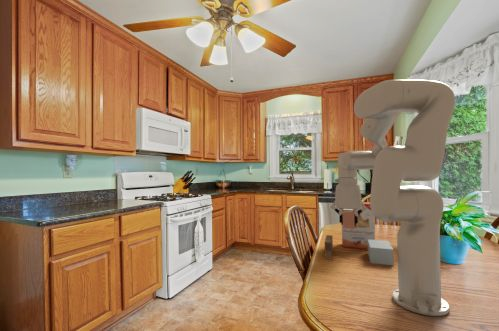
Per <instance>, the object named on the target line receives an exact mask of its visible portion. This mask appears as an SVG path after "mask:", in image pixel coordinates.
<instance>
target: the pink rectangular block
mask: <svg viewBox="0 0 499 331" xmlns="http://www.w3.org/2000/svg"><path fill="white" fill-rule="evenodd" d="M343 228H351V229H355V224H354V209H343Z"/></svg>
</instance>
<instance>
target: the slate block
mask: <svg viewBox="0 0 499 331" xmlns="http://www.w3.org/2000/svg"><path fill="white" fill-rule="evenodd" d="M394 250H395V249H394V248H393V247H392V245H391V243H390V241H389V240H381V239H378V240H377V239H375V240H369V239H368V249H367V255H368V258H369V262H370V264H375V265H377V264H378V265H385V266H395V258H394V257H395V254H394V252H395V251H394Z"/></svg>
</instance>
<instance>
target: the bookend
mask: <svg viewBox="0 0 499 331" xmlns="http://www.w3.org/2000/svg"><path fill="white" fill-rule="evenodd" d="M333 244H334V243H333V235H329V234H327V235H325V239H324V258H325V259H332V256H333V249H334V247H333V246H334V245H333Z"/></svg>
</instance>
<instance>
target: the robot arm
mask: <svg viewBox="0 0 499 331" xmlns="http://www.w3.org/2000/svg"><path fill="white" fill-rule="evenodd" d="M455 106H456V96H455V93H454V91H453V88H451V86H449V85H448V84H447V83H444V82H441V81H438V80H428V79H387V80H383V81H380V82H379V83H376V84H374V85H373V86H371V87H369V88H367V89H365V90H364V91H362V92H361V93H360V94H359V95H358V96H357V98H356V99H355V101H354V105H353V112H354V115H355V116H356V117H357V118H359V119H364V121H363V123H362V125H361V126H360V130H359V132H360V135H361V136H362V137H363V139H365V140H366V141H368V142H370V143H372V144H374V146H373V148H372V149H371V150H347V151H345V152H342V153H338V155H337V177H338V178H334V183H338V184H337V185H336V186H335V193H334V194H335V196H334V198H335V200H334V201H333V203H332V204H331V206H330V209H332V210H333V211H335V212H336V213H337V214H338V216H339V218H338V219H339V223H341V224H340V225H341V226H342V225H343V214H342V211H343V209H354V212H355V214H354V224H355V226H356V224H358V215H359V214H360V213H362V212H363V211H365V210H366V209H367V208H366V206H365V205H364V204H363V203H362V202H363V201H362V194H361V192H362V191H361V186H360V185H359V184H358V171H359V170H360V171H361V170H367V171H369V170H372V178H371V187H370V188H371V190H370V199H369V200H370V201H369V203H370V206H371V211H372V213H373V215H374V218H375V219H377V220H378V221H380V222H386V223H398V222H399V223H401V224H400V226H399V228H398V231H397V235H396V236H397V237H396V238H397V239H396V245H397V249H396V250H397V251H396V252H397V273H398V274H397V277H398V279H397V280H398V281H397V282H398V288H397V289H394V290H393V291H392V296H391V297H392V300H393V301H394V302H395V303H396V304H397V305H398V306H400V307H401V308H403V309H405V310H407V311H410V312H413V313H415V314H419V315H424V316H429V317H430V316H431V317H443V316H446V315H447V314H449V313H450V304H449V303H448V302H447V301H446V300H445V299H443V298H442V280H441V276H442V274H441V273H442V271H441V250H440V249H441V245H440V244H441V243H440V242H441V241H440V238H441V236H440V235H441V234H440V233H441V222H442V218H443V214H444V213H443V212H444V200H443V198H442V195H441V194H440V193H439V192H438V191H437V190H436V189H434V188H432V187H429V186H425V185H402V183H420V182H421V183H422V182H431V181H435V180H436V179H437V178H438V177H439V176H440V174H441V172H442V167H443V163H444V157H445V150H446V143H447V136H448V131H449V127H450V123H451V121H452V116H453V114H454V111H455ZM401 113H416V115H415V117H414V118H412V121H411V122H410V124H408V127H407V129H406V136H405V137H406V138H405V141H404V142H405V143H404V144H403V145H391V146H388V141H387V139H386V136H387V135H388V133H389V131H390V130H391V128H392V127H393V125H394V124H395V122H396V120H397V119H398V118H399V116H400V114H401ZM361 206H362V208H361ZM360 208H361V209H360ZM357 209H359V210H358V211H357Z"/></svg>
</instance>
